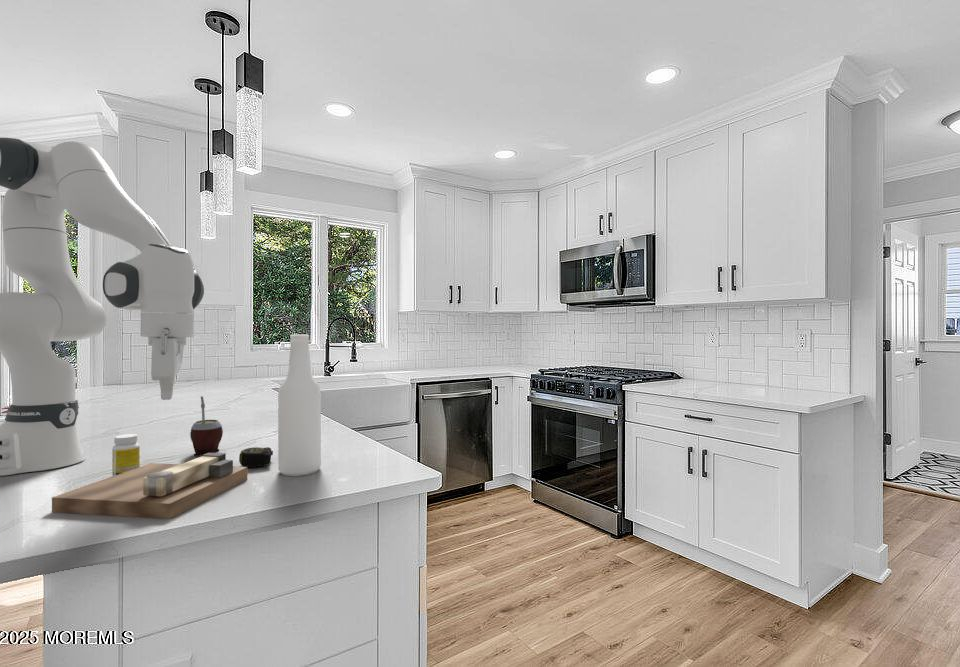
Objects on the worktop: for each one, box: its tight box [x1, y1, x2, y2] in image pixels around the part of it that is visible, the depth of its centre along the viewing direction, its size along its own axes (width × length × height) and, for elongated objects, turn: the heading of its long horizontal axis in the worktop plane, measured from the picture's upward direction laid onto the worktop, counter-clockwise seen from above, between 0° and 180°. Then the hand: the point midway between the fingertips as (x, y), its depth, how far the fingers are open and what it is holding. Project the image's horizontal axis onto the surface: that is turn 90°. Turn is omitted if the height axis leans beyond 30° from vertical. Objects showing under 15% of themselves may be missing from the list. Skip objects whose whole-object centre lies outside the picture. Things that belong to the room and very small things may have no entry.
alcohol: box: [277, 333, 322, 477], centre depth 111 cm, size 9×9×30 cm
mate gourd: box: [189, 396, 224, 457], centre depth 126 cm, size 8×8×15 cm
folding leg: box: [143, 452, 227, 497], centre depth 95 cm, size 17×4×3 cm, turn 171°
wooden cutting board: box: [51, 459, 248, 520], centre depth 96 cm, size 22×22×5 cm
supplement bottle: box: [111, 433, 141, 476], centre depth 108 cm, size 5×5×8 cm
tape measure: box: [238, 446, 274, 468], centre depth 116 cm, size 7×7×4 cm
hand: (166, 398), depth 99 cm, fingers closed
